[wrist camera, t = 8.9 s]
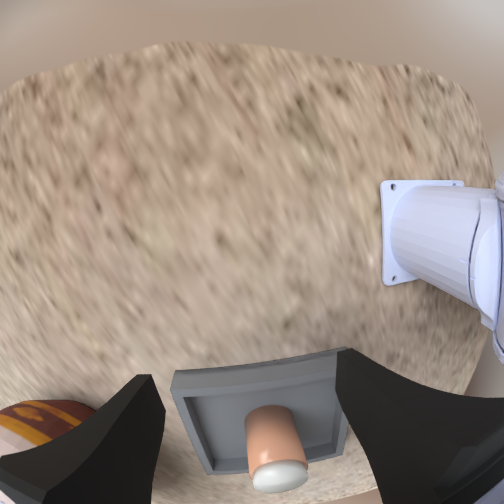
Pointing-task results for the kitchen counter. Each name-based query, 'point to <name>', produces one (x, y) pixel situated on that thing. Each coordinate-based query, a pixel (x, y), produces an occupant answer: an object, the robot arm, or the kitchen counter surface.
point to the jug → (37, 425)
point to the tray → (257, 395)
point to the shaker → (274, 450)
